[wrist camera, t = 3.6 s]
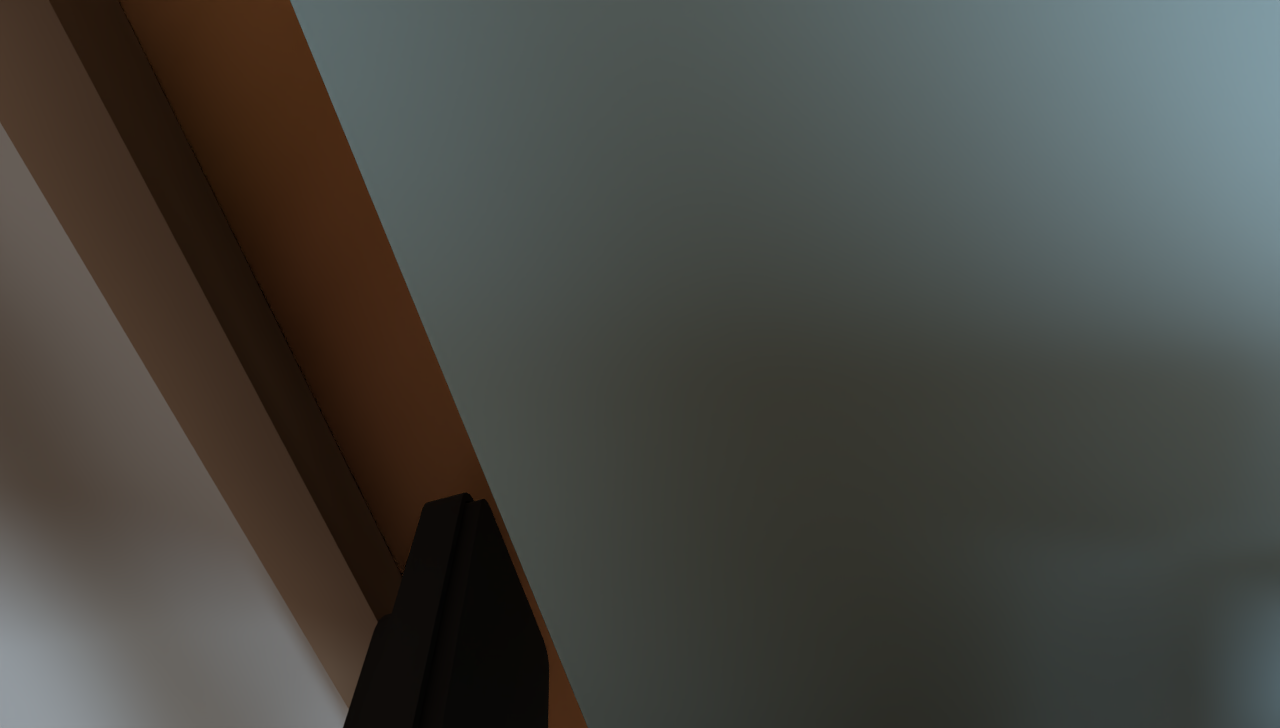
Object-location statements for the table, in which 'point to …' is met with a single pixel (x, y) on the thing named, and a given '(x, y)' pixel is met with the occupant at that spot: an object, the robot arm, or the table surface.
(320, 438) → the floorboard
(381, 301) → the table surface
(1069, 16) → the teal rectangular block
